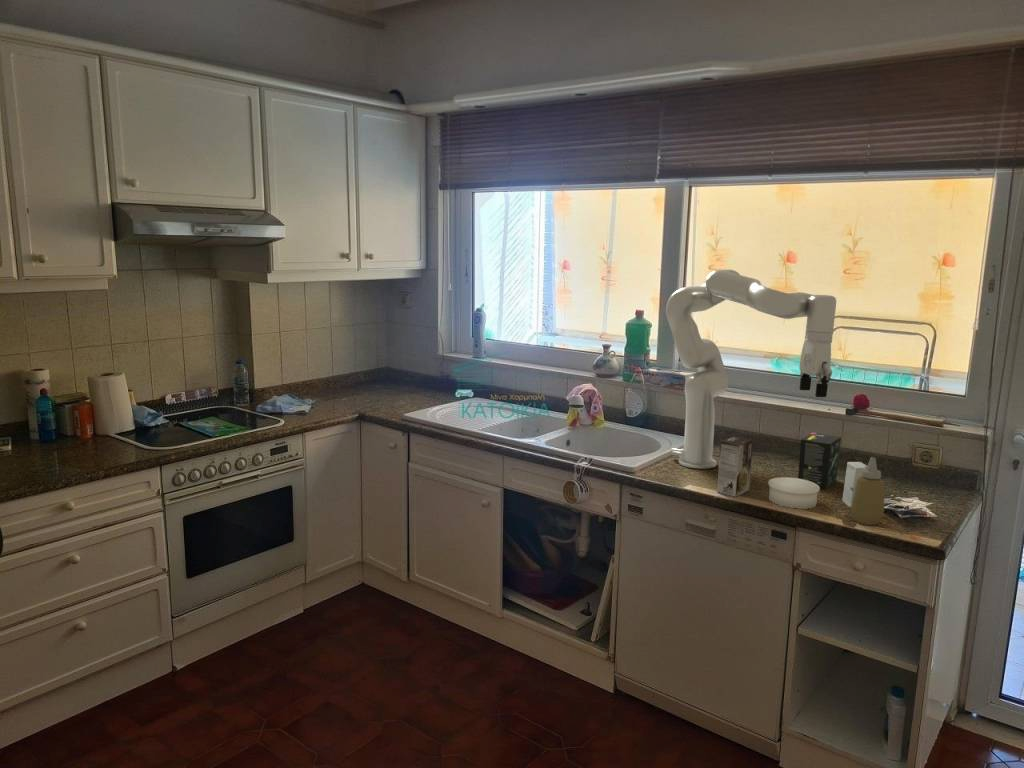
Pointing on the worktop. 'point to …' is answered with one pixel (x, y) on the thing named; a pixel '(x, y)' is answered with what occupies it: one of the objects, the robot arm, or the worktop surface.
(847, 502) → the skincare box
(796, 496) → the podium
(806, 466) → the tampon box
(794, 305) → the robot arm
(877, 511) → the squeeze bottle
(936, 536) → the worktop surface
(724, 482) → the coffee box
